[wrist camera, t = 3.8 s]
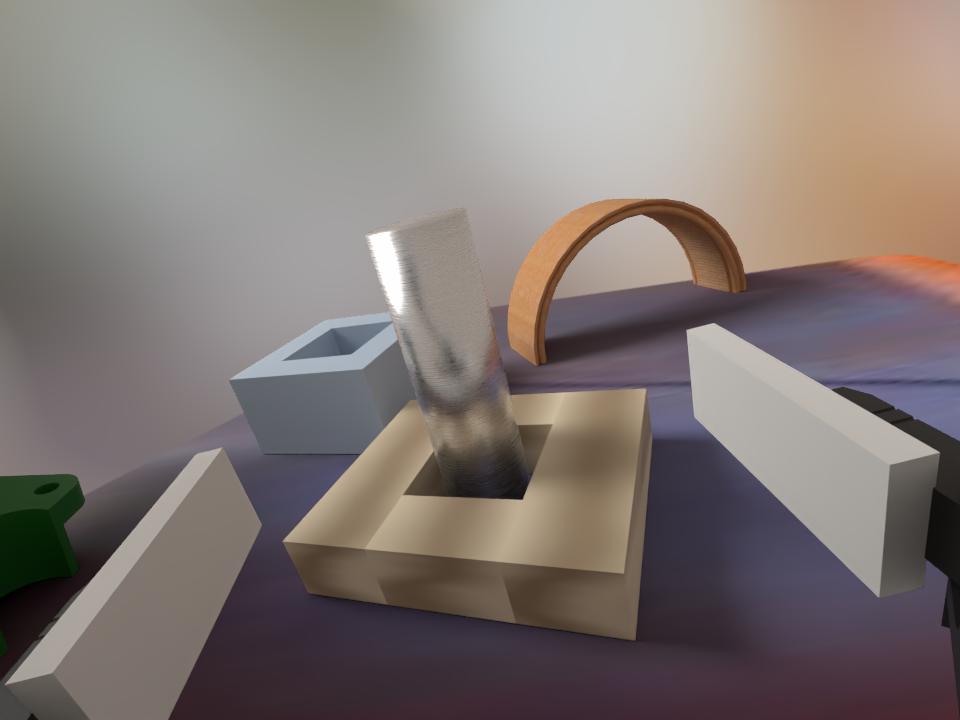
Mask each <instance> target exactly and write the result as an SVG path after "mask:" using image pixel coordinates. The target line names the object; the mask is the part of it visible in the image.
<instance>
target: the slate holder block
mask: <svg viewBox="0 0 960 720" xmlns="http://www.w3.org/2000/svg"><path fill="white" fill-rule="evenodd" d="M229 381H230V384H231V386H232V388H233V390H234V392H235V394H236V396H237V399H238V401H239V402H240V405H241V407H242V409H243V411H244V413H245V415H246V418H247V420H248V422H249V424H250V426H251V428H252V430H253V432H254V435H255V437H256V439H257V441H258V443H259V445H260V447H261V449H262V452H263V454H362V453H363V452H364V451H365V450H366V449H367V447H368V446H369V445H370V444H371V443H372V442H373V441H374V440H375V439H376V438H377V436H378V435H379V434H380V433H381V432H382V431H383V430H384V429H385V428H386V426H387V425H388V424H389V423H390V422H391V421H392V420H393V419H394V418H395V417H396V415H397V414H398V413H399V412H400V411H401V410H402V409H403V408H404V407H405V405H406V404H407V403H408V402H409V401H410V400H417V397H416V394H415V391H414V388H413V385H412V381H411V378H410V375H409V372H408V369H407V366H406V363H405V360H404V357H403V353H402V350H401V347H400V344H399V341H398V338H397V335H396V332H395V329H394V325H393V322H392V319H391V316H390V313H389V312H385V313H378V314H369V315H362V316H354V317H347V318H339V319H331V320H325V321H323V322H322V323H320V324H318V325H317V326H315V327H314V328H312V329H310V330H309V331H307V332H305V333H304V334H302V335H301V336H299V337H297V338H296V339H294V340H293V341H291V342H289V343H288V344H286V345H284V346H283V347H281V348H280V349H278V350H277V351H275V352H273V353H271V354H270V355H268V356H267V357H265V358H263V359H262V360H260V361H258V362H257V363H255V364H254V365H252V366H250V367H249V368H247V369H245V370H244V371H242V372H241V373H239V374H237V375H236V376H234V377H233V378H231V379H229Z"/></svg>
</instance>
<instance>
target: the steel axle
mask: <svg viewBox="0 0 960 720" xmlns="http://www.w3.org/2000/svg"><path fill="white" fill-rule="evenodd" d="M365 238H366V241H367V245H368V248H369V250H370V254H371V257H372V260H373V263H374V266H375V269H376V273H377V276H378V278H379V282H380V285H381V288H382V291H383V294H384V297H385V301H386V303H387V307H388V310H389V313H390V316H391V319H392V322H393V325H394V329H395V332H396V335H397V338H398V341H399V344H400V347H401V350H402V353H403V357H404V360H405V363H406V366H407V369H408V372H409V375H410V378H411V381H412V385H413V388H414V391H415V394H416V397H417V400H418V403H419V406H420V409H421V413H422V416H423V419H424V422H425V425H426V428H427V431H428V434H429V437H430V441H431V444H432V447H433V450H434V453H435V456H436V459H437V462H438V465H439V469H440V472H441V475H442V478H443V481H444V484H445V487H446V490H447V493H448V497H462V498H487V499H511V500H523V498H524V495H525V493H526V490H527V488H528V485H529V483H530V480H531V477H530V473H529V469H528V465H527V461H526V457H525V452H524V448H523V444H522V440H521V436H520V432H519V428H518V424H517V419H516V415H515V411H514V407H513V403H512V399H511V395H510V391H509V386H508V382H507V378H506V374H505V370H504V366H503V362H502V358H501V353H500V349H499V345H498V341H497V337H496V333H495V329H494V325H493V320H492V316H491V312H490V308H489V304H488V300H487V296H486V292H485V287H484V283H483V279H482V275H481V271H480V267H479V263H478V259H477V254H476V250H475V246H474V242H473V238H472V234H471V230H470V226H469V221H468V217H467V213H466V209H465V208H456V209H450V210H444V211H439V212H435V213H430V214H426V215H422V216H418V217H414V218H411V219H407V220H403V221H400V222H397V223H393V224H390V225H387V226H384V227H381V228H378V229H375V230H373V231H371V232H369V233H367V234H365Z"/></svg>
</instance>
